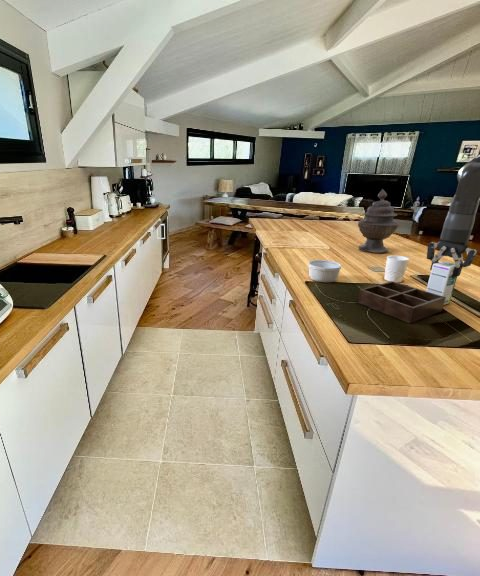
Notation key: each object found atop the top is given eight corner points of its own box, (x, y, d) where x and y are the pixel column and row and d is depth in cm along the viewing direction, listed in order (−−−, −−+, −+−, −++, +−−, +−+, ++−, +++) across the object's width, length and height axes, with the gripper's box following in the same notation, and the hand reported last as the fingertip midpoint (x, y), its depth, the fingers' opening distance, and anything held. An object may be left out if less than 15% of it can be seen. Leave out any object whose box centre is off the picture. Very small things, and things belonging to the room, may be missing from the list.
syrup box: (439, 306, 110) (451, 267, 105) (422, 300, 115) (433, 262, 110) (449, 303, 112) (461, 265, 107) (432, 297, 117) (442, 260, 112)
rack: (441, 311, 107) (446, 297, 105) (409, 323, 99) (413, 308, 97) (388, 293, 122) (391, 280, 120) (357, 302, 114) (360, 289, 112)
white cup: (381, 276, 141) (386, 254, 138) (402, 278, 138) (407, 256, 134) (383, 281, 135) (388, 259, 131) (404, 284, 131) (410, 261, 128)
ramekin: (327, 273, 146) (330, 258, 144) (345, 282, 134) (348, 267, 131) (301, 275, 144) (303, 260, 142) (316, 284, 132) (319, 269, 129)
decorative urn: (395, 255, 170) (404, 188, 160) (353, 253, 180) (360, 190, 170) (394, 249, 186) (402, 187, 176) (356, 248, 196) (362, 189, 186)
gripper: (490, 229, 100) (473, 278, 106) (439, 222, 111) (427, 267, 118) (478, 231, 96) (462, 282, 102) (427, 224, 108) (415, 270, 114)
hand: (443, 274), depth 110 cm, fingers closed on syrup box, 6 cm apart
